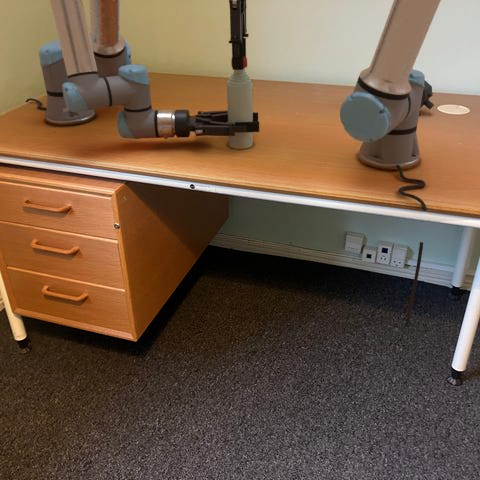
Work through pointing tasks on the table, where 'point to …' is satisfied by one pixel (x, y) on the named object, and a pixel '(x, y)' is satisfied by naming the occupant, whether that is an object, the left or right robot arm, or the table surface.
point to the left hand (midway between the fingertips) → (258, 122)
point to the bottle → (240, 107)
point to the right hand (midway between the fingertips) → (239, 66)
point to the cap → (243, 62)
